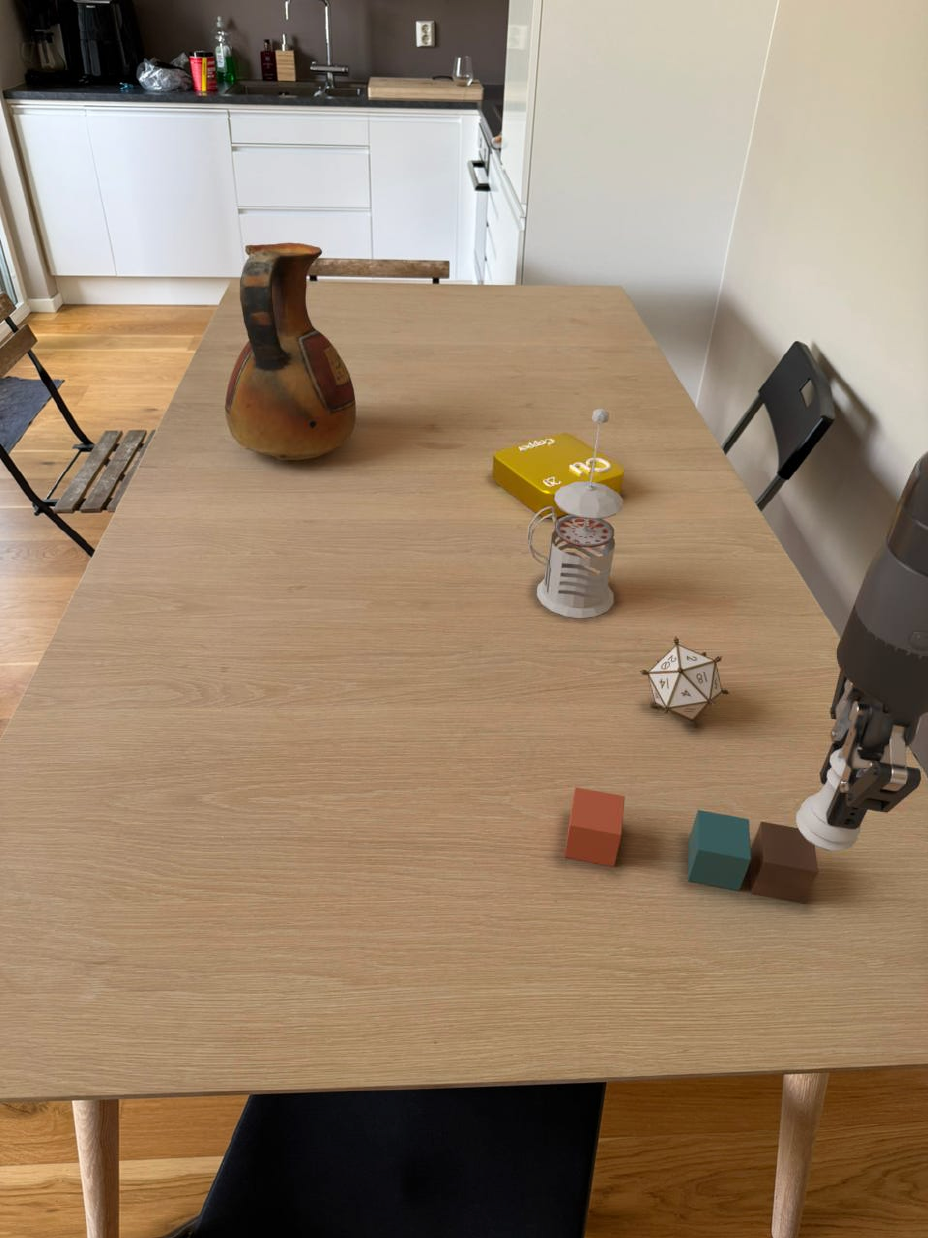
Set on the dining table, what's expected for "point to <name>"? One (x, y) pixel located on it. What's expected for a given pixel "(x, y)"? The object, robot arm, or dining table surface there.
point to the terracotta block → (595, 827)
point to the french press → (580, 547)
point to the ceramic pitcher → (286, 363)
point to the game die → (685, 682)
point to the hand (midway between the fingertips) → (837, 802)
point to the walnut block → (782, 863)
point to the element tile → (551, 470)
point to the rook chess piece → (816, 806)
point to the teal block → (719, 850)
